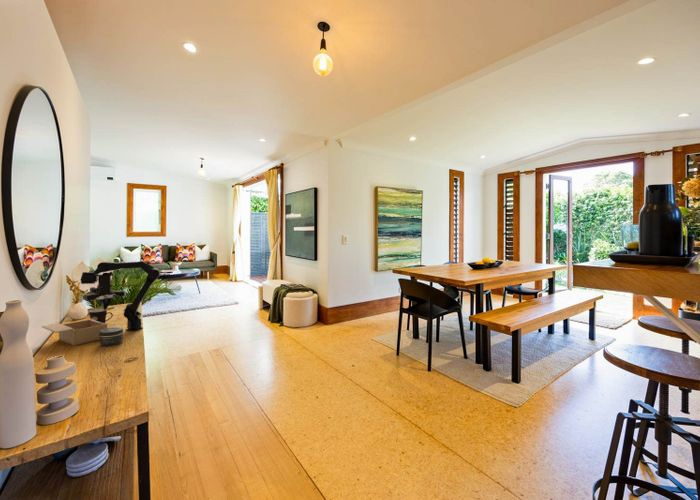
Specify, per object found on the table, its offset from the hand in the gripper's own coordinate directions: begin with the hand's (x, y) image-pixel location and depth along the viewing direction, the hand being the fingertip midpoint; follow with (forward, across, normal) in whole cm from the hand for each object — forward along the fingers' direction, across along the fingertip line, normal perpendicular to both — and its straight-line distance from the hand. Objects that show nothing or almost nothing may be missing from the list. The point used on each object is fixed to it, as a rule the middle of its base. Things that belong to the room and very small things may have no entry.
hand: (104, 309), depth 182 cm
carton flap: (+4, +19, +4) cm, 20 cm away
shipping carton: (+13, +12, +4) cm, 18 cm away
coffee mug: (+13, -4, -14) cm, 20 cm away
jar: (+13, +8, +25) cm, 30 cm away
